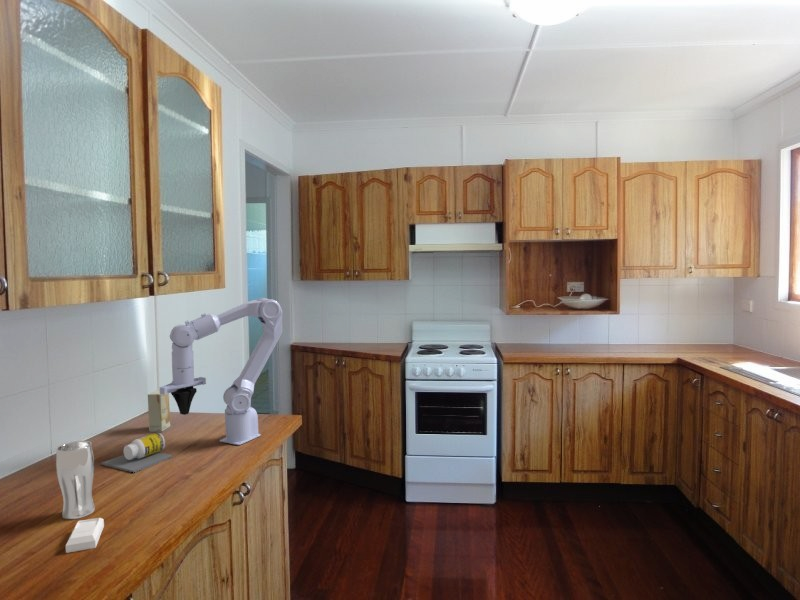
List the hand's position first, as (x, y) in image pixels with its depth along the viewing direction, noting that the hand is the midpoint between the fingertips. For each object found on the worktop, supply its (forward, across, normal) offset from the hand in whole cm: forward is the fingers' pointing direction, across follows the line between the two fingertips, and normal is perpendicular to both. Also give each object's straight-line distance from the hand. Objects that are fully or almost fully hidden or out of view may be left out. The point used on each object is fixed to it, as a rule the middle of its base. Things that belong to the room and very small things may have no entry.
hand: (184, 413), depth 154 cm
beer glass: (+11, +38, +10) cm, 40 cm away
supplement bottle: (+7, +5, -5) cm, 10 cm away
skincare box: (+11, -10, -23) cm, 27 cm away
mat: (+11, +12, -5) cm, 17 cm away
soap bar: (+12, +44, +22) cm, 50 cm away
